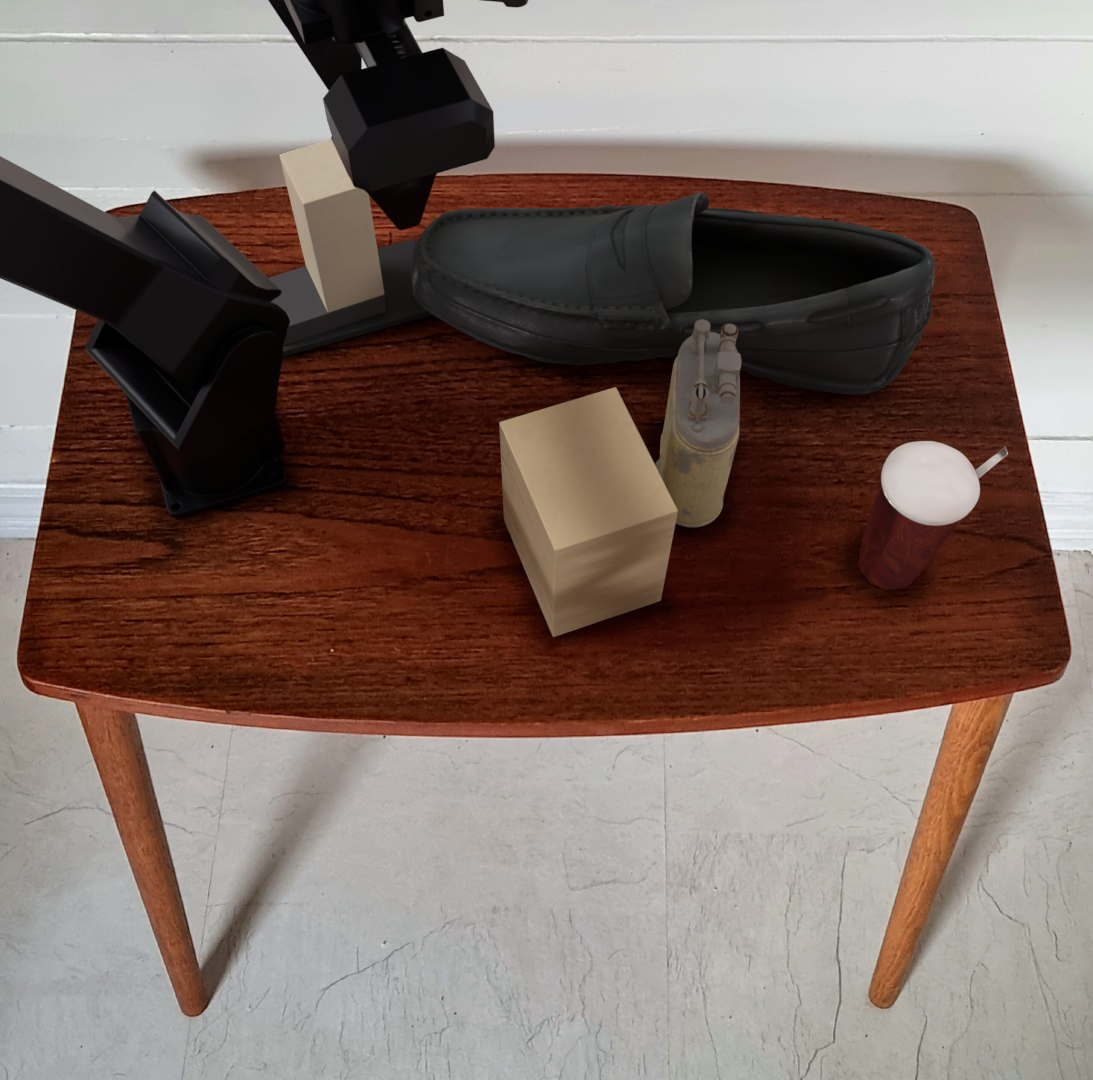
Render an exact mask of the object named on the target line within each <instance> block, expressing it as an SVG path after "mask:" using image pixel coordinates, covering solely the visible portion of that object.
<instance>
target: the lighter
mask: <svg viewBox="0 0 1093 1080" xmlns="http://www.w3.org/2000/svg"><path fill="white" fill-rule="evenodd" d="M737 335H738V328H737V327H736V326H735V325H734V324H725V325H723V326H722V329H721V333H720V334H718V333H715V332H710V323H709V322H708V321H707V320H704V319H700V320H697V321H696V322H695V325H694V331H693V333H692V336H690V337H689V338H687V339H686V340H685V341H684V342H683V344H682V345H681V347H680V349H679V352H678V356H675V359H674V362H673V364H672V371H671V378H670V384H669V390H668V397H667V403H666V410H665V415H664V423H663V429H662V433H661V435H660V445H659V447H660V448H659V458H658V459H657V460H656V461H655V462H654V464H655V466H656V468H657V470H658V472H659V474H660V476H661V478H662V480H663V482H664V484H665V486H666V488H667V490H668V492H669V494H670V496H671V498H672V500H673V502H674V504H675V506H676V508H677V510H678V513H677V518H676V524H675V525H677V526H681V527H686V528H700V527H704V526H707V525H709V524H711V523H713V522H714V521H715V520H716V519H717V518H718V517H719V516H720V514H721V512H722V509H723V508H724V497H725V493H726V489H727V485H728V482H729V478H730V473H731V471H732V465H733V462H734V457H735V454H736V449H737V445H738V441H739V437H740V415H741V414H740V412H741V411H740V408H741V407H740V406H741V403H740V401H741V379H740V378H741V377H740V375H741V374H740V371H741V370H740V368H741V356H740V353H738V351H737V349H736V347H735V345H736V339H737Z"/></svg>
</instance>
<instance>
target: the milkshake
mask: <svg viewBox="0 0 1093 1080" xmlns="http://www.w3.org/2000/svg"><path fill="white" fill-rule="evenodd" d="M1008 455H1009V452H1008V449H1007V447H1006V446H1005V445H1004V446H1003V447H1001V448H1000V449H999V450H997V451H996V453H994V454H993V455H992V456H991V457H989V458H988V459H987V460H986V461H984V462H983V463H982V464H981V465H979V467H977V468H976V469H975V468H974V466H973V464H972V463H971V461H969V459H968V458H967V457H966V456H965V454H963V453H962V452H961V451H959V450H958V449H956V448H954V447H952V446H950V445H948V444H946V443H942V442H938V441H934V440H920V441H910V442H905V443H903V444H901V445H899V446H897V447H896V448H895V449H893V450H892V451H891V452H890V453H889V454H888V456H887V458H886V459H885V461H884V463H883V466H882V468H881V472H880V477H879V480H878V485H877V488H876V493H875V496H874V500H873V504H872V507H871V510H870V513H869V516H868V520H867V523H866V526H865V529H864V532H863V535H862V540H861V542H860V545H859V549H858V569H859V571H860V572H861V574H863V576H864V578H865V579H866V580H867V581H868V583H869V584H871V585H874V586H876V587H878V588H880V589H883V590H885V591H895V590H901V589H907V588H908V587H909V586H910V585H912V583H913V582H914V581H915V580H916V579H917V578H918V577H919V576H920V575H921V573H923V571H924V569H925V568H927V566H928V564H929V563H930V562H931V560H932V559H933V558H934V556H935V555H936V554H937V552H938V551H939V550H940V549H941V547H942V546H943V544H944V543H945V542H946V540H947V539H948V538H949V537H950V536H951V535H953V532H955V530H957V528H958V527H959V526H960V524H961V523H962V522H963V521H964V520H965V519H966V518H967V516H968V515H969V514H970V513H971V512H972V510H973V509H974V508H975V506H976V505H977V503H978V501H979V498H980V495H981V486H980V480H979V479H980V478H981V477H983V476H984V475H985V474H986V473H987V472H989V471H990V470H991V469H993V468H994V467H995V466H996V465H998V463H999V462H1001V461H1002V460H1004V458H1006V457H1007V456H1008Z"/></svg>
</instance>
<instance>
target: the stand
mask: <svg viewBox="0 0 1093 1080" xmlns="http://www.w3.org/2000/svg"><path fill="white" fill-rule="evenodd" d="M498 424H499V442H500V443H499V444H500V445H499V446H500V464H501V467H500V468H501V485H502V487H501V489H502V506H503V521H504V522H505V526H506V528H507V530H508V533H509V535H510V537H511V540H512V542H513V545H514V547H515V550H516V552H517V555H518V556H519V559H520V562H521V564H522V566H523V570H524V571H525V574H526V576H527V578H528V581H529V583H530V585H531V588H532V590H533V593H534V594H535V598H536V600H537V602H538V605H539V607H540V610H541V612H542V614H543V616H544V619H545V621H546V624H547V627H548V629H549V631H550V633H551V636H552V637H553V638H555V637H559V636H561V635H564V634H567V633H570V632H573V631H576V630H580V629H582V628H584V627H587V626H590V625H593V624H597V623H599V622H602V621H605V620H607V619H608V620H609V619H611V618H614V617H617V616H620V615H623V614H626V613H629V612H632V611H634V610H638V609H641V608H644V607H646V606H647V607H648V606H650V605H653V604H655V603H659V602H661V601H662V597H663V592H664V588H665V587H664V586H665V582H666V575H667V570H668V564H669V560H670V555H671V549H672V544H673V540H674V539H673V538H674V533H675V529H676V525H677V524H676V518H677V513H678V510H677V508H676V506H675V504H674V502H673V500H672V498H671V496H670V494H669V492H668V490H667V488H666V486H665V484H664V482H663V480H662V478H661V476H660V474H659V472H658V470H657V468H656V466H655V462H654V460H653V458H652V455H651V454H650V452H649V450H648V448H647V446H646V444H645V442H644V440H643V438H642V436H641V434H640V432H639V430H638V427H637V426H636V424H635V422H634V420H633V418H632V416H631V414H630V412H629V410H628V408H627V406H626V405H625V402H624V400H623V398H622V396H621V394H620V393H619V390H618V389H617V387H616V386H614V387H611V388H608V389H605V390H601V391H598V392H595V393H591V394H588V395H585V396H581V397H579V398H578V397H577V398H575V399H571V400H567V401H565V402H561V403H558V404H555V405H551V406H548V407H545V408H542V409H538V410H535V411H531V412H529V413H524V414H522V415H519V416H515V417H512V418H508V419H504V420H501V421H499V422H498Z"/></svg>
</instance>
